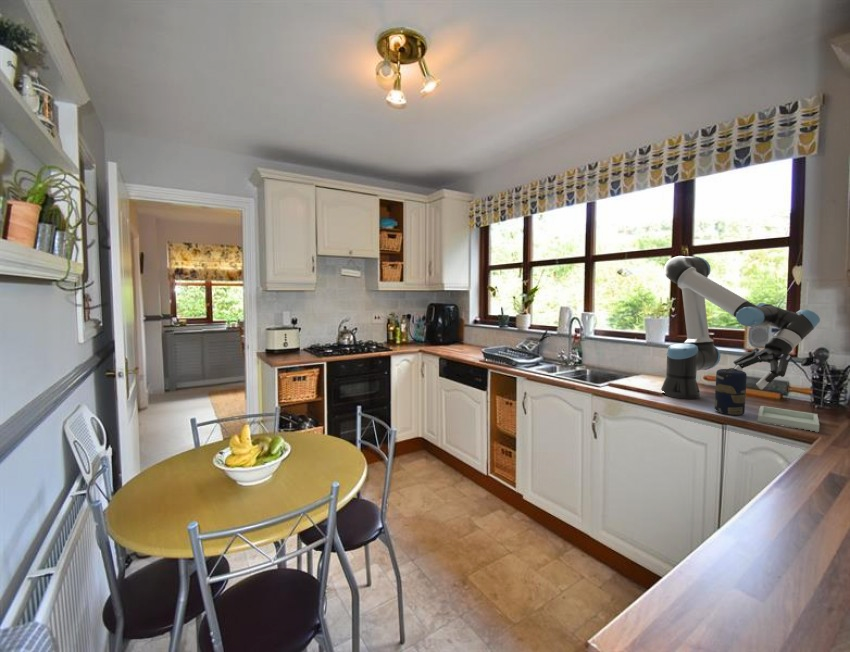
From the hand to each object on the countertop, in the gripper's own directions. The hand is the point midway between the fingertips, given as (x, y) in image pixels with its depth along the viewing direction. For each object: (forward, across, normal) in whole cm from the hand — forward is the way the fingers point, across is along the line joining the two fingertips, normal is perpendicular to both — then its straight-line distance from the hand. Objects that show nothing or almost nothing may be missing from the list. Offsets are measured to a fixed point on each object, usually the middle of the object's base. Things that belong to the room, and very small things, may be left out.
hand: (742, 382), depth 154 cm
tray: (+2, -10, -15) cm, 18 cm away
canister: (+12, +2, -6) cm, 13 cm away
